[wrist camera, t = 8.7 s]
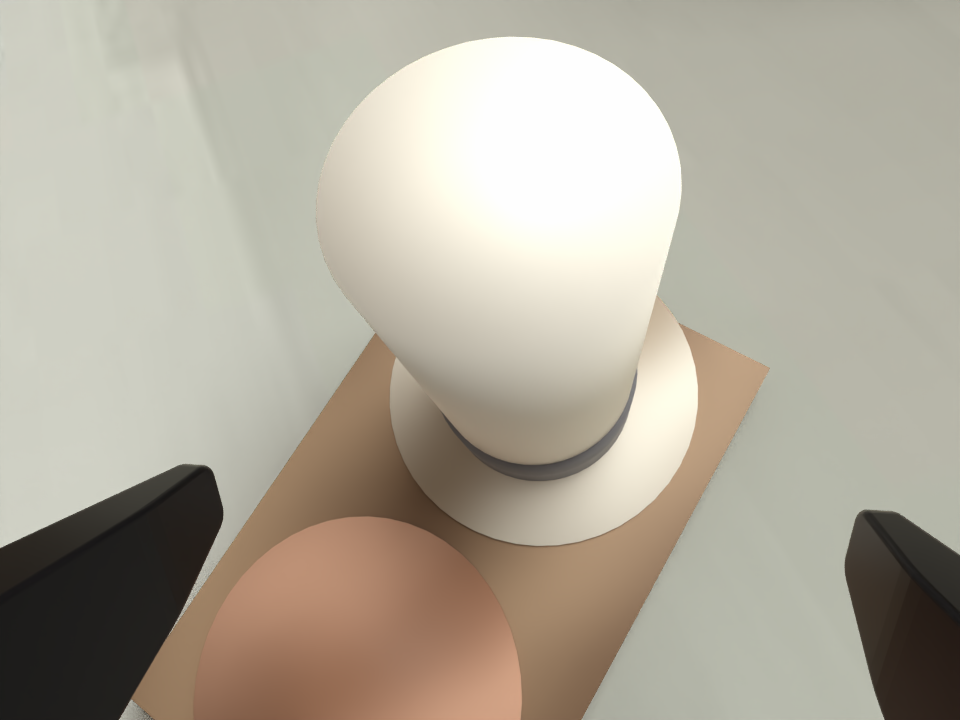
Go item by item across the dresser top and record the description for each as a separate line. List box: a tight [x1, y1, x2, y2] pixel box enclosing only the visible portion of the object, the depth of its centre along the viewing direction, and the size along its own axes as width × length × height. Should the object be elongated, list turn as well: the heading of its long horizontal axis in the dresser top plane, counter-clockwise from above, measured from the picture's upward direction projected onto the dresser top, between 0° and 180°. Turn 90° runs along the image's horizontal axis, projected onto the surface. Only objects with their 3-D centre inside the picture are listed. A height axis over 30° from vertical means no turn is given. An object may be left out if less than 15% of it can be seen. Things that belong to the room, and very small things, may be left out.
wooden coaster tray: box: [131, 295, 770, 720], centre depth 18 cm, size 10×17×1 cm, turn 148°
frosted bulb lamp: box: [316, 37, 682, 481], centre depth 13 cm, size 5×5×10 cm
